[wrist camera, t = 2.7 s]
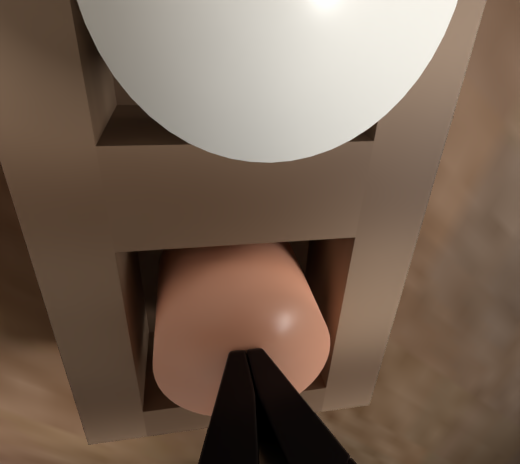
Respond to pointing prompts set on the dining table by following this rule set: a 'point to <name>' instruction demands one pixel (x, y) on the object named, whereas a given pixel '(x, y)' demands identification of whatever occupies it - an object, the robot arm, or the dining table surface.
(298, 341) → the peach rounded dome
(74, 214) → the button console
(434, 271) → the dining table surface
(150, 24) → the white rounded piece
